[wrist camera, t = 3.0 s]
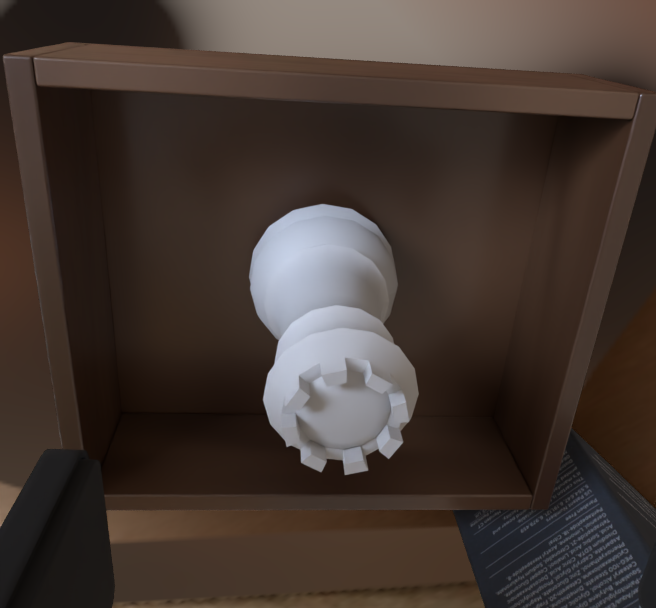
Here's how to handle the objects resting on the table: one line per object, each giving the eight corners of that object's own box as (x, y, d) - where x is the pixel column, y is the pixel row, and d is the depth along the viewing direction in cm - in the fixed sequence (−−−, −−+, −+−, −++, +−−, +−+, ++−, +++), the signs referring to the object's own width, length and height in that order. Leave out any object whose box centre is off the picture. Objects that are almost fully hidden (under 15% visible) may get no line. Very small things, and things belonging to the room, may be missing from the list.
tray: (107, 420, 22) (70, 511, 18) (66, 42, 16) (0, 54, 13) (503, 425, 23) (549, 510, 19) (583, 74, 18) (666, 94, 14)
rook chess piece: (396, 197, 19) (469, 319, 11) (389, 330, 21) (448, 505, 13) (245, 200, 18) (222, 327, 11) (253, 334, 20) (238, 516, 13)
